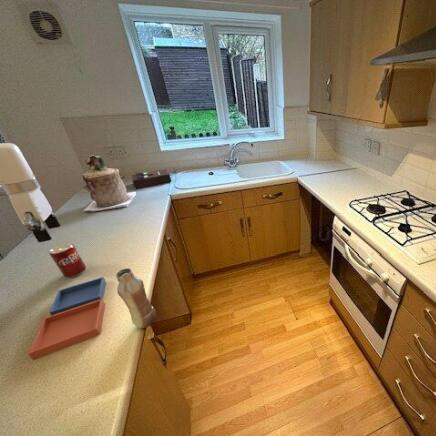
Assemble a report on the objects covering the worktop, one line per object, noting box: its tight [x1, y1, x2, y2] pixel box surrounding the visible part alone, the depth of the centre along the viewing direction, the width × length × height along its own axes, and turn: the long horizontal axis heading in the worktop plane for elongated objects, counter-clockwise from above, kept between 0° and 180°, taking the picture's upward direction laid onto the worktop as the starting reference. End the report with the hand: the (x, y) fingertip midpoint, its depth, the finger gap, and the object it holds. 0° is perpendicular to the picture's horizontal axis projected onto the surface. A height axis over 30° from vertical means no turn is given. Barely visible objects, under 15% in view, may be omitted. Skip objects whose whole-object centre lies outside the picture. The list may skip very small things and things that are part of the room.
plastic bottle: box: [115, 268, 157, 329], centre depth 70 cm, size 6×7×20 cm
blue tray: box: [49, 276, 107, 316], centre depth 84 cm, size 13×11×3 cm
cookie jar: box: [82, 154, 137, 213], centre depth 150 cm, size 25×25×32 cm
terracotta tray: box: [27, 298, 106, 360], centre depth 73 cm, size 15×13×3 cm
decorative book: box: [130, 168, 173, 190], centre depth 189 cm, size 19×8×30 cm
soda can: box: [49, 242, 87, 279], centre depth 94 cm, size 7×7×12 cm
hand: (50, 233), depth 81 cm, fingers open, 9 cm apart
